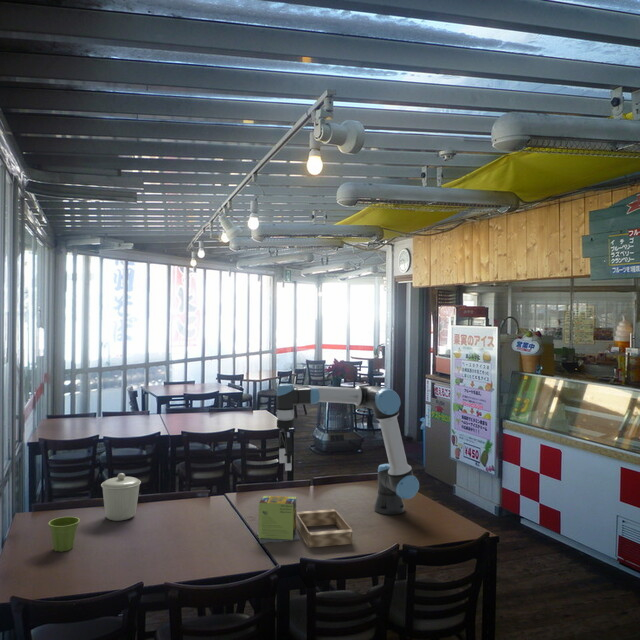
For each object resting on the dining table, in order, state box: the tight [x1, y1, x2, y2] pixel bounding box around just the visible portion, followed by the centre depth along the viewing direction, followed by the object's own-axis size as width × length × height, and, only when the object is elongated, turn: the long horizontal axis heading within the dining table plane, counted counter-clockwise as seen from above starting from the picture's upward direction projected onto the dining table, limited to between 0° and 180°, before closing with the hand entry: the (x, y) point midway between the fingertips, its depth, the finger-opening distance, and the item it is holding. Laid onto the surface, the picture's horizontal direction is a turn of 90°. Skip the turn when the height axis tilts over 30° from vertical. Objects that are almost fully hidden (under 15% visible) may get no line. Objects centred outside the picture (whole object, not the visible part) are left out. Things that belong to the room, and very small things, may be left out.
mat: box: [256, 531, 300, 544], centre depth 252 cm, size 17×12×1 cm
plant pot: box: [48, 516, 81, 553], centre depth 236 cm, size 12×12×11 cm
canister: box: [100, 472, 142, 522], centre depth 275 cm, size 18×18×21 cm
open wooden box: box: [296, 508, 353, 548], centre depth 255 cm, size 19×30×6 cm, turn 14°
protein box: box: [257, 495, 297, 540], centre depth 252 cm, size 10×15×16 cm
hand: (285, 466), depth 256 cm, fingers open, 13 cm apart
